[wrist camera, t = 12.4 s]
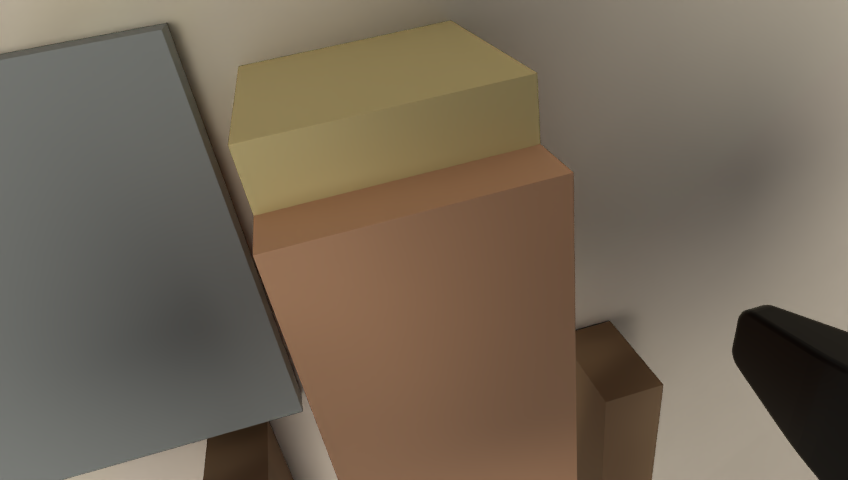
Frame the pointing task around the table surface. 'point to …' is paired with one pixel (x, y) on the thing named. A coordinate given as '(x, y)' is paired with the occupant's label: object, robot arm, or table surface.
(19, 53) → the mat
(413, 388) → the plug block
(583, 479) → the rail right
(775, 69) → the table surface
